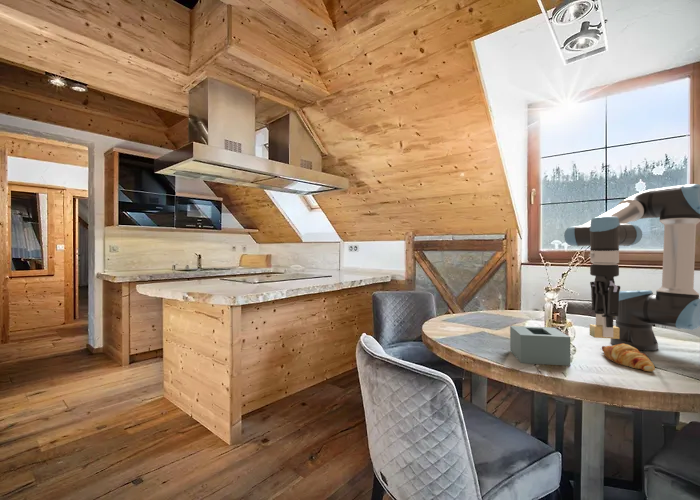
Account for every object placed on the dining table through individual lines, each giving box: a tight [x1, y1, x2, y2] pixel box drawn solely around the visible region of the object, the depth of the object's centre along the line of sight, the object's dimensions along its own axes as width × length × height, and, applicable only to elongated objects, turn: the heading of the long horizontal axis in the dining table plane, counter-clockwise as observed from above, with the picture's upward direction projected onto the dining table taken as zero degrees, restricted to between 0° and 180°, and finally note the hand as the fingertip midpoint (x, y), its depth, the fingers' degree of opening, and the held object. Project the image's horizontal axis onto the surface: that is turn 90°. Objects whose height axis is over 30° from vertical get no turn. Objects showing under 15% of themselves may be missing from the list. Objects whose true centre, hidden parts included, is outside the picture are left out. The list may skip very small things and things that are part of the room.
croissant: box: [601, 343, 656, 372], centre depth 119 cm, size 21×10×8 cm, turn 2°
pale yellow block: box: [589, 324, 619, 339], centre depth 110 cm, size 7×4×4 cm, turn 77°
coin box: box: [509, 325, 571, 366], centre depth 125 cm, size 16×14×10 cm
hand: (604, 335), depth 110 cm, fingers closed on pale yellow block, 3 cm apart
